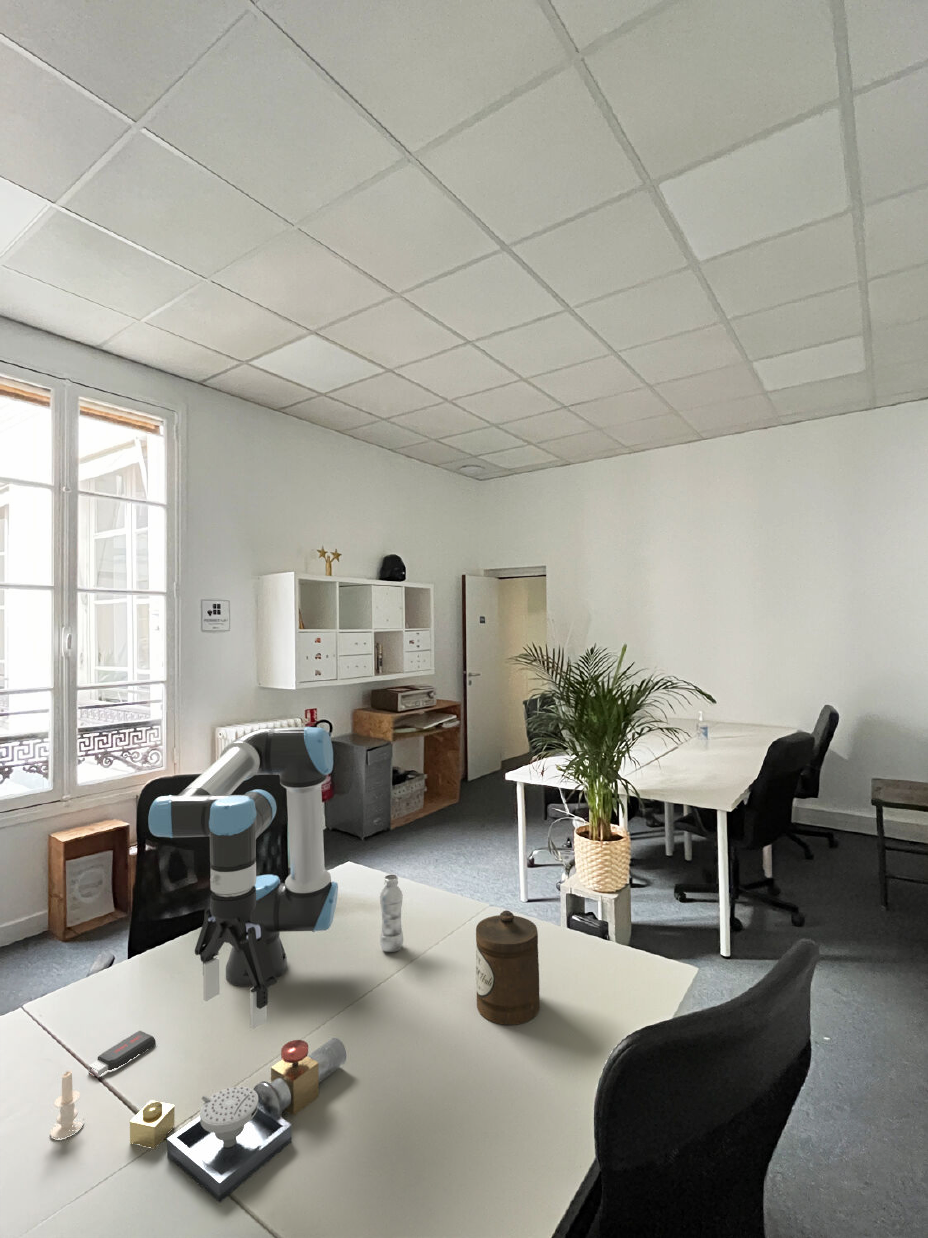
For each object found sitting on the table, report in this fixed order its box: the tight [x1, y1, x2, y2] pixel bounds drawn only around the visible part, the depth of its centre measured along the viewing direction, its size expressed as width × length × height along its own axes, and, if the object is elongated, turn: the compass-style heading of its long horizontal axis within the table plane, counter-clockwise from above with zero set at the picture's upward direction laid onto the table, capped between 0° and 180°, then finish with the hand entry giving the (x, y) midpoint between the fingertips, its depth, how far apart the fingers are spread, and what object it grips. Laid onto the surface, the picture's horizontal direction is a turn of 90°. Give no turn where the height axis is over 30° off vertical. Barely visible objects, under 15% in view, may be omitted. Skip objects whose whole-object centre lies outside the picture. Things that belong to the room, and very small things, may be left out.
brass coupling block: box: [129, 1100, 175, 1150], centre depth 112 cm, size 5×5×5 cm
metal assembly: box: [166, 1037, 348, 1203], centre depth 116 cm, size 15×32×10 cm, turn 145°
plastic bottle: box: [379, 874, 404, 953], centre depth 175 cm, size 6×7×20 cm
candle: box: [49, 1070, 82, 1139], centre depth 113 cm, size 5×5×10 cm
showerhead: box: [199, 1085, 258, 1148], centre depth 109 cm, size 9×7×10 cm
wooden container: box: [475, 910, 541, 1026], centre depth 149 cm, size 15×15×22 cm
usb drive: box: [88, 1030, 157, 1076], centre depth 132 cm, size 5×12×3 cm, turn 152°
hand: (234, 1010), depth 110 cm, fingers open, 13 cm apart
